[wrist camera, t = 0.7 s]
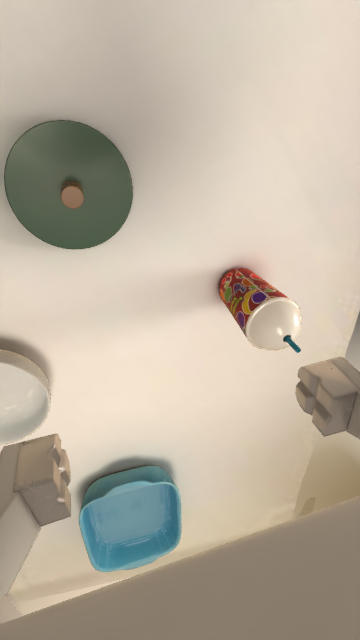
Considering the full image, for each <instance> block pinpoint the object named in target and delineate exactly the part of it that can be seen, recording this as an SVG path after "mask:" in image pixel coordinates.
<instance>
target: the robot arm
mask: <svg viewBox="0 0 360 640" xmlns="http://www.w3.org/2000/svg"><path fill="white" fill-rule="evenodd" d="M298 377H299V378H300V382H299V383H298V384H297V385H296V397H297V401H298V403H299V405H300V406H301V408H302V409H303V410H304V412H306V413H308V414H310V415H312V422H313V423H314V425H315V426H316V427H317V428H318V430H319V431H320V432H321V433H322V435H323V436H328V435H332V434H335V433H339V432H343V431H346V430H347V432H349V433H350V434H352V435H354V436H355V437H357V438H359V439H360V372H359V371H358V370H357V369H356V368H354V367H353V366H352V365H351V364H350V363H349V362H348V361H347V360H346V359H344V358H342V357H337V358H333V359H329V360H326V361H322V362H318V363H315V364H311V365H308V366H304V367H301V368H300V369H299V371H298ZM69 483H70V466H69V461H68V457H67V454H66V452H65V450H63V449H61V440H60V438H59V436H58V434H52V435H48V436H44V437H40V438H36V439H32V440H28V441H24V442H21V443H16V444H12V445H8V446H4V447H3V449H2V451H1V454H0V640H360V496H358V497H355V498H352V499H349V500H346V501H344V502H341V503H338V504H335V505H333V506H330V507H327V508H324V509H321V510H318V511H316V512H313V513H310V514H307V515H304V516H301V517H299V518H296V519H293V520H290V521H287V522H285V523H282V524H279V525H276V526H273V527H271V528H268V529H265V530H262V531H259V532H257V533H254V534H251V535H248V536H245V537H243V538H240V539H237V540H234V541H231V542H229V543H226V544H223V545H220V546H217V547H215V548H212V549H209V550H206V551H203V552H201V553H198V554H195V555H192V556H189V557H187V558H184V559H181V560H178V561H175V562H173V563H170V564H167V565H164V566H161V567H159V568H156V569H153V570H150V571H147V572H145V573H142V574H139V575H136V576H133V577H131V578H128V579H125V580H122V581H119V582H117V583H114V584H111V585H108V586H106V587H103V588H100V589H97V590H94V591H91V592H89V593H86V594H83V595H80V596H77V597H75V598H72V599H69V600H66V601H63V602H61V603H58V604H55V605H52V606H49V607H47V608H44V609H41V610H38V611H35V612H33V613H30V614H27V615H24V616H22V614H21V613H20V612H19V611H18V610H17V609H16V607H15V606H14V605H13V604H12V603H11V602H10V601H9V600H8V599H7V598H6V596H7V594H8V592H9V590H10V588H11V586H12V584H13V582H14V580H15V578H16V576H17V574H18V572H19V571H20V569H21V567H22V565H23V563H24V561H25V559H26V557H27V555H28V553H29V551H30V549H31V547H32V545H33V543H34V541H35V539H36V537H37V535H38V533H39V532H40V530H41V526H44V525H47V524H50V523H52V522H55V521H58V520H61V519H64V518H67V517H70V516H71V494H70V492H69V490H68V488H67V486H68V484H69Z"/></svg>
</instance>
